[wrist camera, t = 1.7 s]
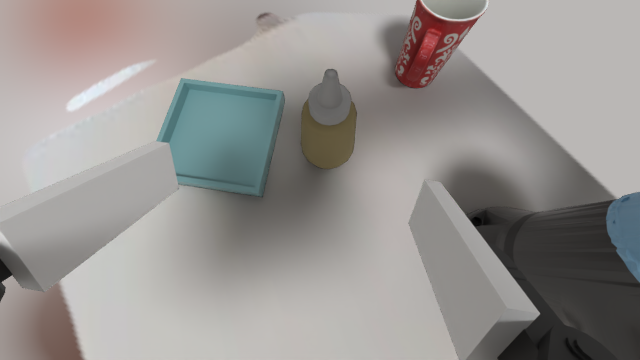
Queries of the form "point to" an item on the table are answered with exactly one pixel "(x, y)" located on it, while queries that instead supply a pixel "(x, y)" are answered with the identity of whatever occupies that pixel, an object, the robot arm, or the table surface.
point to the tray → (222, 135)
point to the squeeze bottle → (328, 123)
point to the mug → (434, 37)
